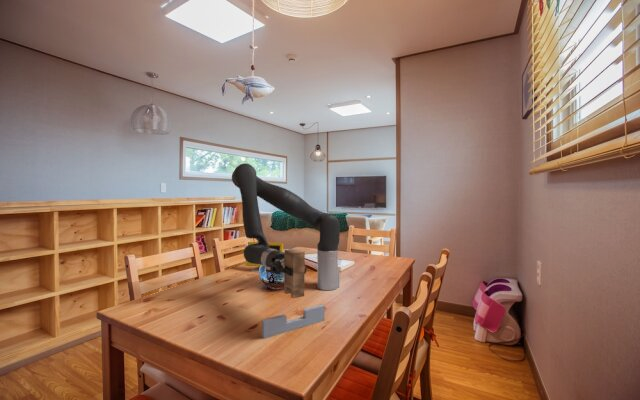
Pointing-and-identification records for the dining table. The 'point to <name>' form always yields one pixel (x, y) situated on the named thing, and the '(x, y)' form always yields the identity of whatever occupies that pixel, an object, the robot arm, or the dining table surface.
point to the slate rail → (292, 321)
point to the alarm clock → (272, 245)
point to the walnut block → (294, 272)
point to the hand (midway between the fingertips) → (298, 271)
